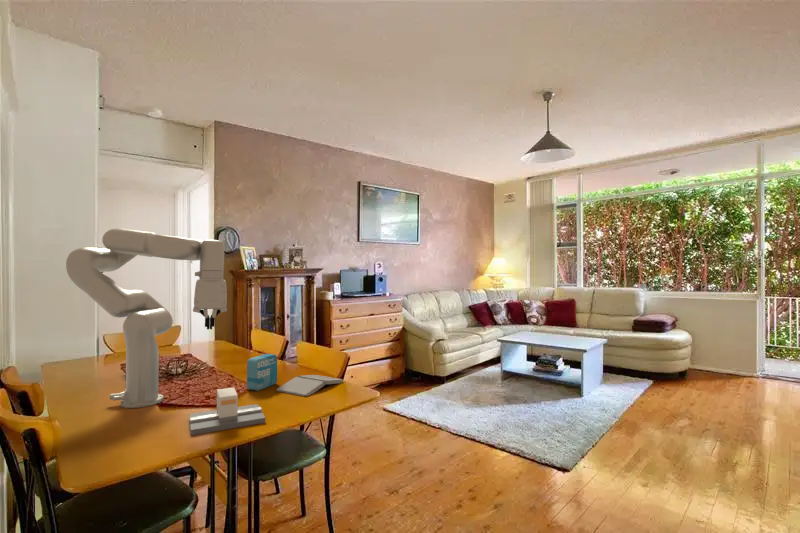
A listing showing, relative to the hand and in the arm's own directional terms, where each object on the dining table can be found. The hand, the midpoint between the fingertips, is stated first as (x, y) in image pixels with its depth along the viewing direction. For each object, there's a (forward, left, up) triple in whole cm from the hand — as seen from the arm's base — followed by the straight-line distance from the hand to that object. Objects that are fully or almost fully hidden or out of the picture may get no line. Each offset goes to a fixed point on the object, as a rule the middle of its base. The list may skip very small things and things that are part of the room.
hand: (209, 328), depth 140 cm
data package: (+20, +12, -26) cm, 35 cm away
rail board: (+4, -20, -26) cm, 33 cm away
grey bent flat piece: (+37, +4, -27) cm, 46 cm away
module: (+4, -20, -24) cm, 32 cm away
